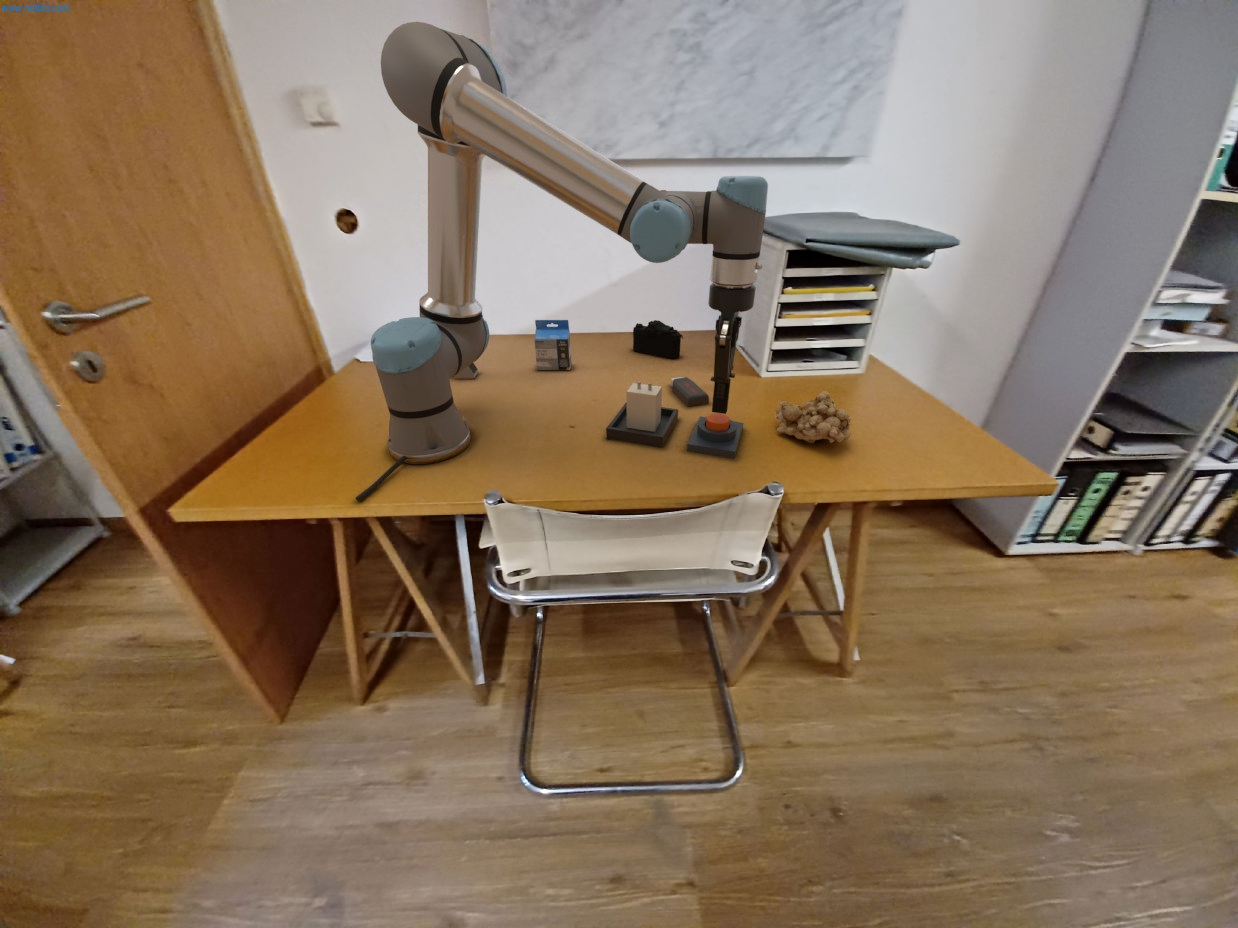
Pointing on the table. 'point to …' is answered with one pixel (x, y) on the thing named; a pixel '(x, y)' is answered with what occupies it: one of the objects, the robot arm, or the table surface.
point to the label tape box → (552, 345)
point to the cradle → (643, 437)
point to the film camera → (657, 340)
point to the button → (717, 422)
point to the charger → (644, 406)
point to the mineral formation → (814, 420)
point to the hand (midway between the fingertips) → (719, 411)
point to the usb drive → (689, 392)
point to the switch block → (715, 439)
